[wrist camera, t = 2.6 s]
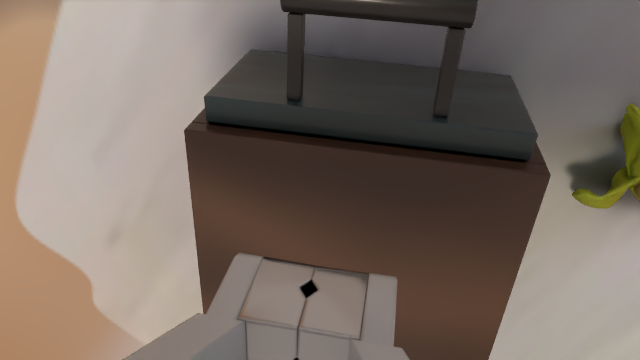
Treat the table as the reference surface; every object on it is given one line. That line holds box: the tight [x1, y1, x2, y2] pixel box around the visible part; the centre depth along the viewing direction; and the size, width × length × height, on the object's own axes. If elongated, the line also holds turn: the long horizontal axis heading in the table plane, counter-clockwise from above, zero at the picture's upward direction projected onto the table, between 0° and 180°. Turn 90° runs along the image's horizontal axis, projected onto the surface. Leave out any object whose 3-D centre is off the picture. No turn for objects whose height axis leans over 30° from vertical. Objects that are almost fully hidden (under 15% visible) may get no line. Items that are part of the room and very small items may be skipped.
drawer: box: [204, 0, 538, 160], centre depth 26 cm, size 23×13×7 cm, turn 176°
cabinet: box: [184, 108, 551, 360], centre depth 28 cm, size 20×15×9 cm
